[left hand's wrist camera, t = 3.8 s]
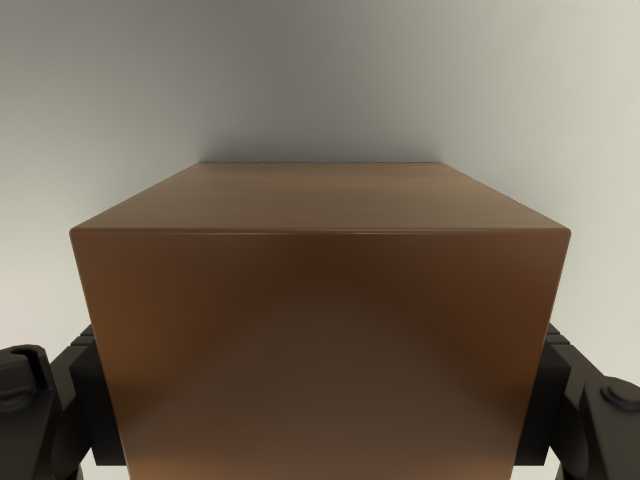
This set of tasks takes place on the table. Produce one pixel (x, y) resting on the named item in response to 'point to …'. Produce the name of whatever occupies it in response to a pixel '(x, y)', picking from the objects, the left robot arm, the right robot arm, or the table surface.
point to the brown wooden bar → (320, 321)
